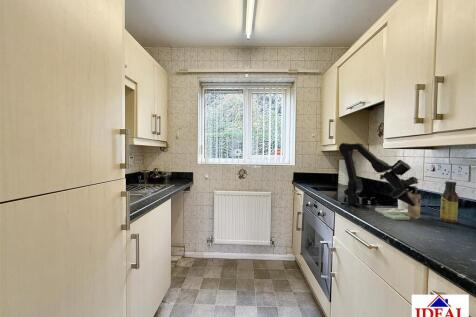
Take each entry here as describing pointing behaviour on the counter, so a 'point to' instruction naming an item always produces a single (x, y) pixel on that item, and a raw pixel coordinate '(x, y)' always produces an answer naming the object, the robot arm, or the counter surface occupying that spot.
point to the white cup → (402, 204)
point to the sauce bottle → (449, 203)
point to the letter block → (414, 210)
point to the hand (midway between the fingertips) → (417, 205)
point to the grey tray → (401, 210)
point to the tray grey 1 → (385, 210)
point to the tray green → (397, 216)
